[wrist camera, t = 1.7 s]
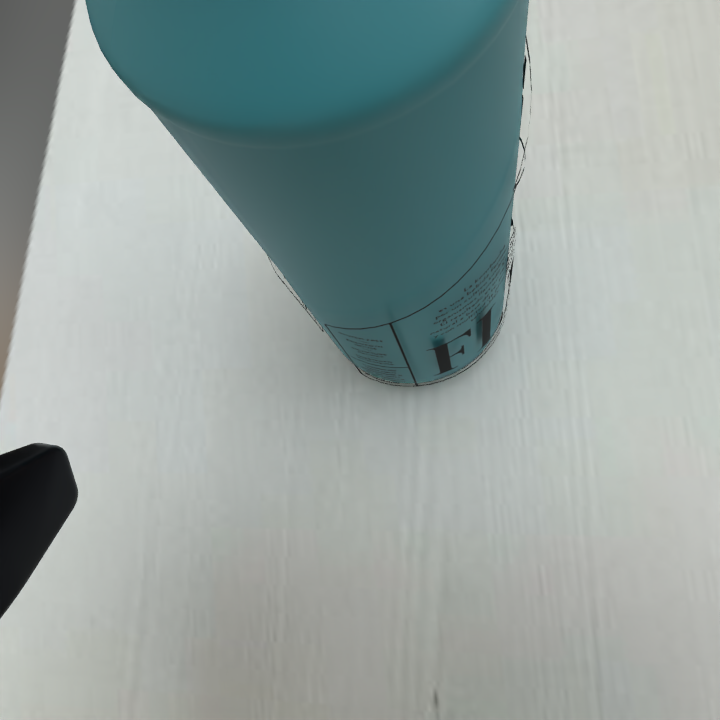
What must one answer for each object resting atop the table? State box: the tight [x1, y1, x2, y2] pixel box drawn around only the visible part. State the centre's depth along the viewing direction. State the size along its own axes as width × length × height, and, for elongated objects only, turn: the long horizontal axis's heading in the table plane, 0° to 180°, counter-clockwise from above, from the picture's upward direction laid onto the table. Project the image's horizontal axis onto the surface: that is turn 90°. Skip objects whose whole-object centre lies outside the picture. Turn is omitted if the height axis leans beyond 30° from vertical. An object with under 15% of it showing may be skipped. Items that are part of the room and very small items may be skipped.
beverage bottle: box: [86, 0, 532, 386], centre depth 13 cm, size 6×7×20 cm
